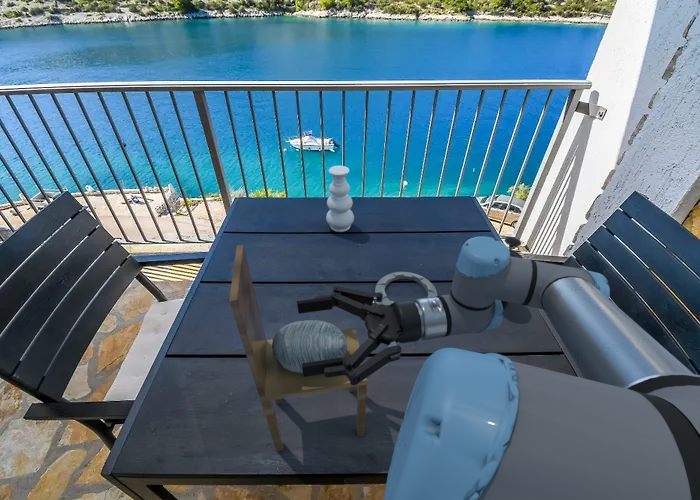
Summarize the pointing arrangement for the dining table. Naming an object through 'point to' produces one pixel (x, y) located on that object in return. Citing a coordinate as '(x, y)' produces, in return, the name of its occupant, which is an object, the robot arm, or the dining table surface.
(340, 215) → the vase
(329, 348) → the grey streaked ellipsoid
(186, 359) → the dining table surface
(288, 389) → the wooden chair
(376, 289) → the ring
